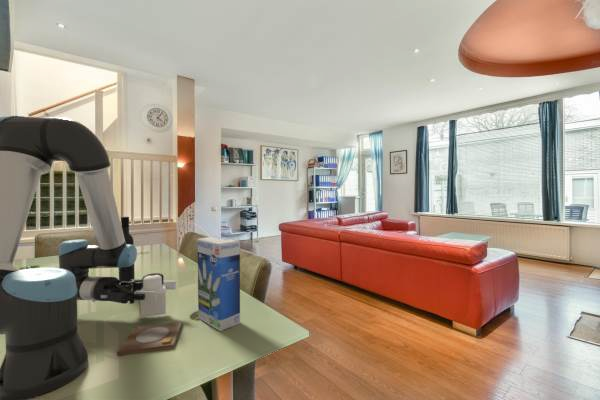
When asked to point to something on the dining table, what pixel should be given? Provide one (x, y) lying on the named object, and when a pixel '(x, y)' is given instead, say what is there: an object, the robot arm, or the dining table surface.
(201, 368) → the dining table surface
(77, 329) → the robot arm
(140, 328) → the plate
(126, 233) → the wine bottle
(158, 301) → the medicine bottle
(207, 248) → the string lights box
